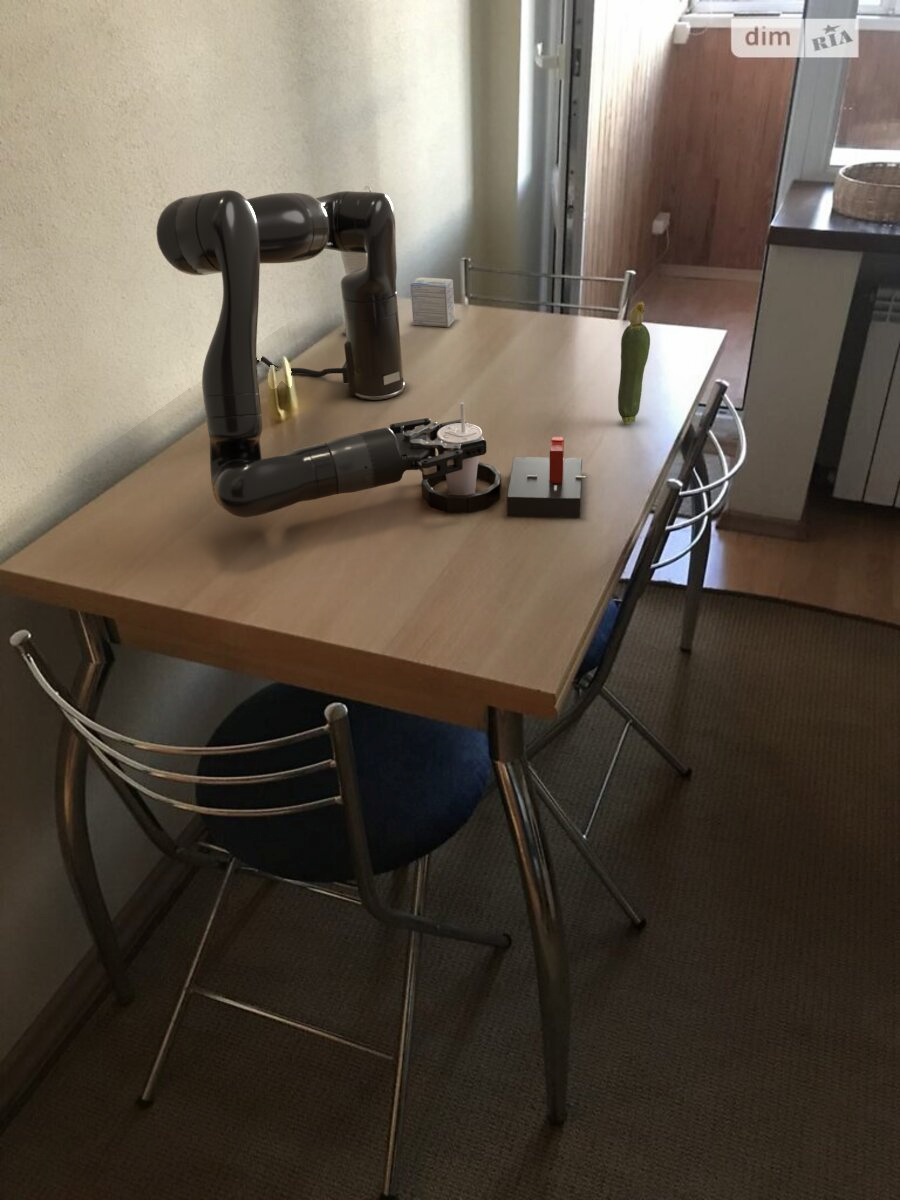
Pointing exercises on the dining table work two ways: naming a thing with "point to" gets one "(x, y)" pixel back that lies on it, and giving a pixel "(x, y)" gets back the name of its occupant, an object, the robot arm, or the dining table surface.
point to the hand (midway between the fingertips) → (474, 435)
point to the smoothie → (465, 478)
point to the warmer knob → (556, 460)
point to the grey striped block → (432, 302)
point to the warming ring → (464, 501)
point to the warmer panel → (544, 488)
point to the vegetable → (633, 364)
